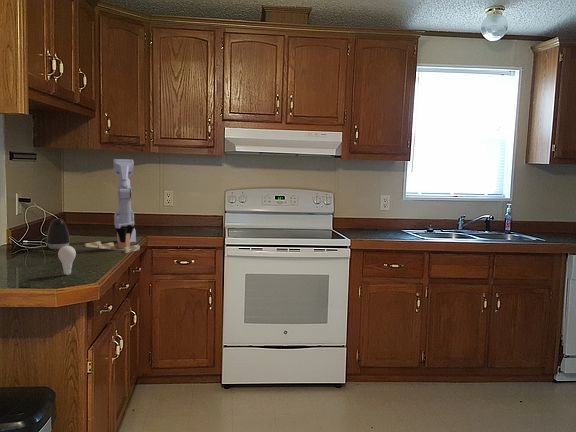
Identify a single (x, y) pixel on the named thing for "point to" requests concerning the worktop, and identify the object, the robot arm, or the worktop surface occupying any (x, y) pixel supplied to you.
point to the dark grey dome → (58, 234)
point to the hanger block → (124, 244)
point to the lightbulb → (67, 258)
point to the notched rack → (112, 246)
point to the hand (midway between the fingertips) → (125, 241)
